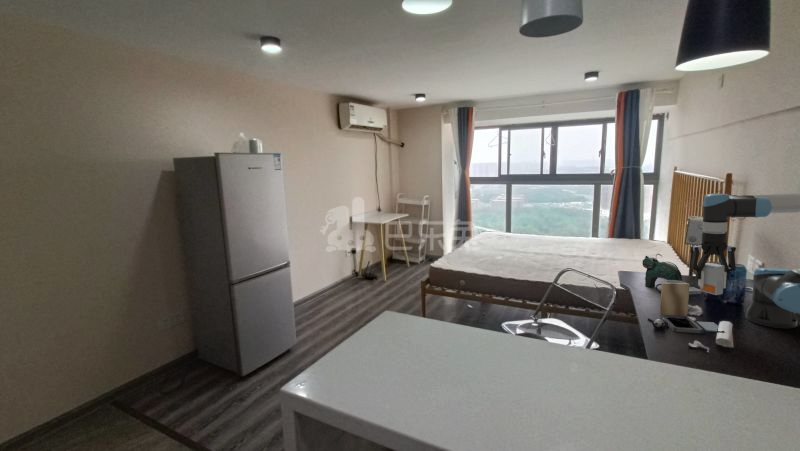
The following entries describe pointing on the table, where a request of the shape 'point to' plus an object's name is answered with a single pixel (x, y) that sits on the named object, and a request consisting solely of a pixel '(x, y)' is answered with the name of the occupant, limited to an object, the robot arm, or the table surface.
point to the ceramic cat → (659, 271)
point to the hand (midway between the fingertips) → (711, 286)
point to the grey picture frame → (676, 329)
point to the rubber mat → (708, 326)
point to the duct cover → (674, 298)
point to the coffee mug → (670, 282)
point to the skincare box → (713, 278)
